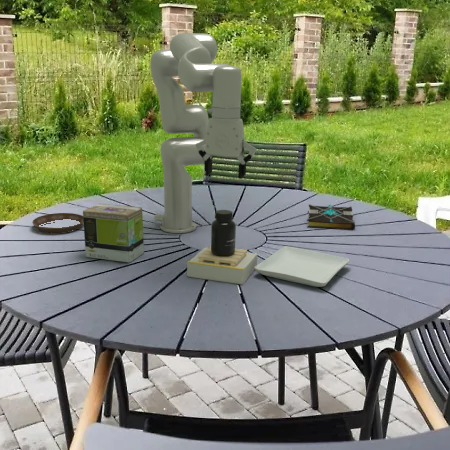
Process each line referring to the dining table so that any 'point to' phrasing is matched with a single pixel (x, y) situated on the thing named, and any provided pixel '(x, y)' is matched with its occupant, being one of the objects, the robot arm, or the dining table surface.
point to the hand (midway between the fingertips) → (224, 175)
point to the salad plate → (302, 266)
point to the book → (331, 217)
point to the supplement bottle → (223, 234)
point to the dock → (222, 266)
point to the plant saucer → (57, 216)
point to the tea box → (113, 232)
